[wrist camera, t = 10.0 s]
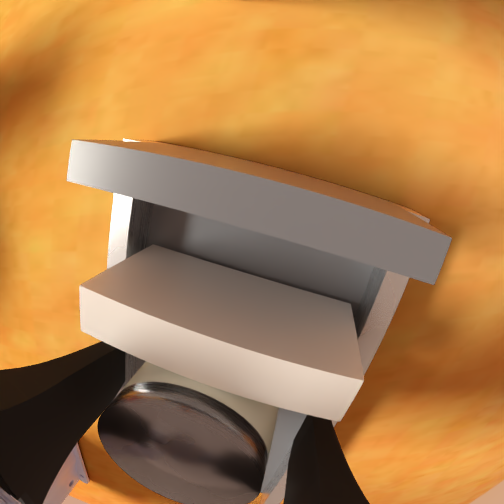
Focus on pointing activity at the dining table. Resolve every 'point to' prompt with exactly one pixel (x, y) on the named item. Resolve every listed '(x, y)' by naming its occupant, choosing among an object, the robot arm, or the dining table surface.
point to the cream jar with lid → (188, 438)
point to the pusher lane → (263, 238)
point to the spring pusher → (228, 330)
